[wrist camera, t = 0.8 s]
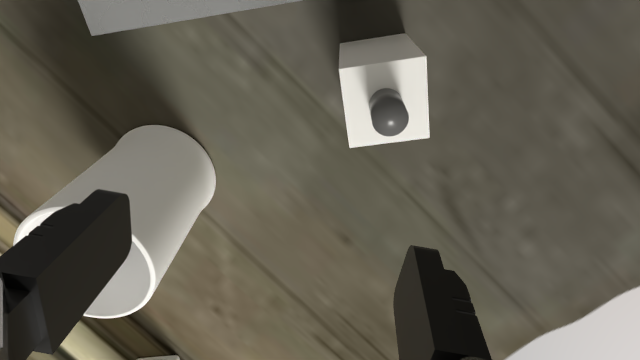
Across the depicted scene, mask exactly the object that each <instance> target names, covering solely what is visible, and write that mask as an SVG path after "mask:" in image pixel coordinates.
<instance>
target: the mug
mask: <svg viewBox="0 0 640 360" xmlns="http://www.w3.org/2000/svg"><path fill="white" fill-rule="evenodd" d="M215 186H216V175H215V170H214V166H213V164H212V161H211V159H210V158H209V156H208V154H207V153H206V151H205V150H204V149H203V148H202V146H201V145H200V144H199V143H198V142H196V141H195V140H194V139H193V138H191V137H190V136H188V135H187V134H185V133H183V132H181V131H179V130H177V129H174V128H171V127H167V126H162V125H146V126H141V127H138V128H135V129H133V130H131V131H129V132H128V133H126V134H125V135H124V136H123V137H122V138H121V139H120V140H119V141H118V142H117V144H116V145H115V147H114V148H113V149H111V150H110V151H109V152H108V153H107V154H105V155H104V156H103V157H102V158H100V159H99V160H98V161H97V162H95V163H94V164H93V165H92V166H90V167H89V168H88V169H87V170H85V171H84V172H83V173H82V174H80V175H79V176H78V177H77V178H75V179H74V180H73V181H72V182H70V183H69V184H68V185H67V186H65V187H64V188H63V189H61V190H60V191H59V192H58V193H56V194H55V195H54V196H53V197H51V198H50V199H49V200H48V201H46V202H45V203H44V204H43V205H41V206H40V207H39V208H38V209H36V210H35V211H34V212H33V213H32V214H30V215H29V216H28V217H27V218H26V219H25V220H24V221H23V222H22V223H21V224H20V226H19V227H18V229H17V231H16V233H15V237H14V243H13V246H14V245H15V244H16V243H17V242H19V241H20V240H21V239H22V238H23V237H25V236H28V235H29V232H31V231H32V230H33V229H34V228H36V227H37V226H40V224H41V223H42V222H43V221H44V220H45V219H46V218H48V217H49V216H50V215H51V214H52V213H54V212H55V211H57V210H60V209H62V208H64V207H66V206H69V205H71V204H73V203H77V204H80V203H81V202H82V201H83V200H84V199H86V198H87V197H88V196H89V195H90V194H91V193H92V192H94V191H95V190H97V189H102V190H107V191H113V192H119V193H124V194H127V195H128V197H129V201H130V216H131V231H132V244H131V249H130V252H129V254H128V257H127V258H126V260H125V261H124V263H123V264H122V265H121V267H120V268H119V269H118V270H117V272H116V273H115V274H114V276H113V277H112V278H111V280H110V281H109V282H108V283H107V285H106V286H105V287H104V289H103V290H102V291H101V292H100V294H99V295H98V296H97V298H96V299H95V300H94V302H93V303H92V304H91V305H90V307H89V308H88V309H87V311H86V312H85V313H84V314H83V316H88V317H94V318H117V317H122V316H126V315H129V314H131V313H133V312H135V311H137V310H139V309H140V308H141V307H143V306H144V305H145V304H146V303H147V302H148V300H149V299H150V298H151V296H152V295H153V293H154V291H155V289H156V288H157V286H158V284H159V282H160V281H161V279H162V277H163V276H164V274H165V272H166V270H167V269H168V267H169V265H170V263H171V262H172V260H173V258H174V257H175V255H176V253H177V251H178V250H179V248H180V246H181V244H182V243H183V241H184V239H185V237H186V236H187V234H188V232H189V231H190V229H191V227H192V225H193V224H194V222H195V220H196V218H197V217H198V215H199V213H200V212H201V210H203V209H204V208H205V207H206V206H207V204H208V203H209V202H210V200H211V199H212V196H213V194H214V191H215Z"/></svg>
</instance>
